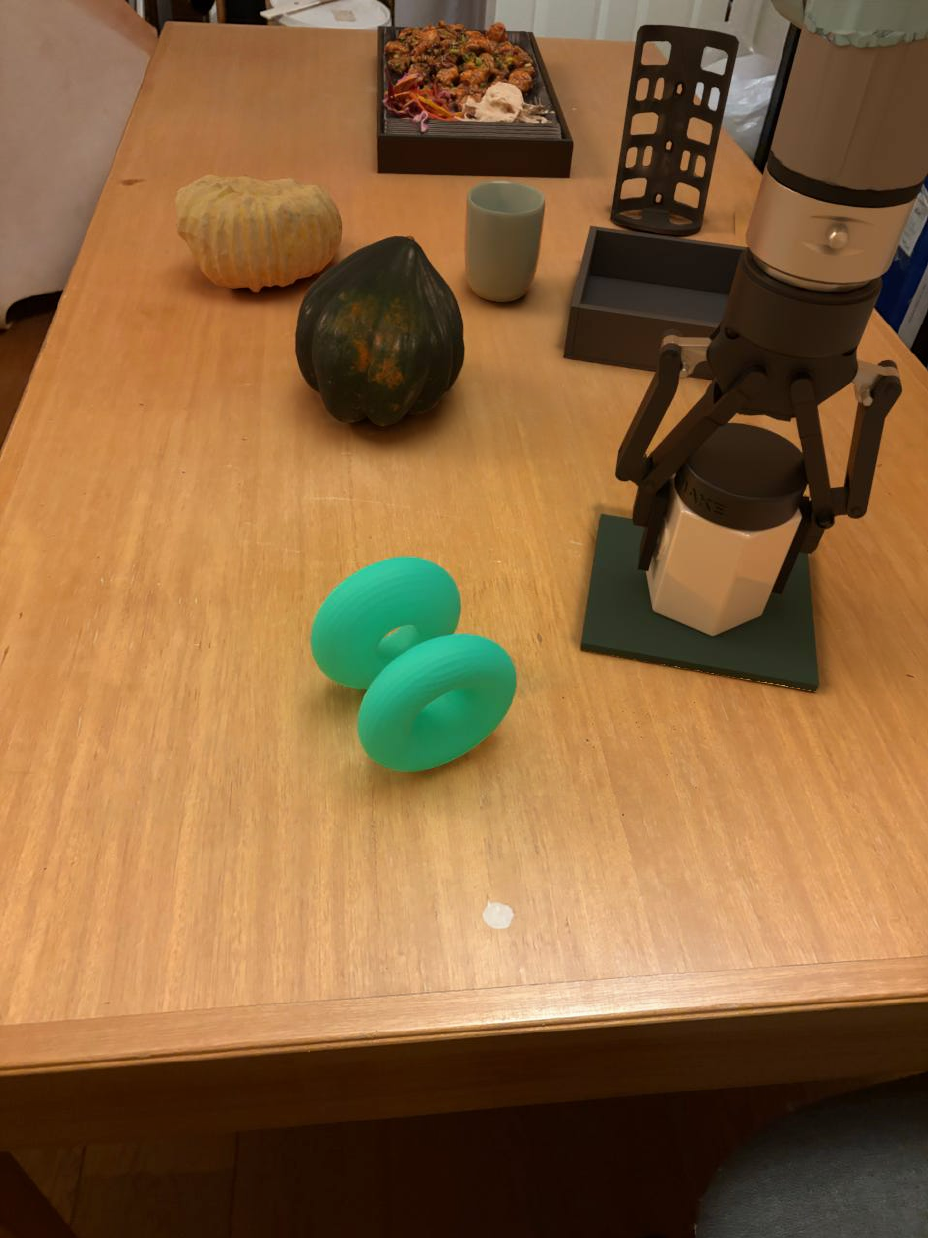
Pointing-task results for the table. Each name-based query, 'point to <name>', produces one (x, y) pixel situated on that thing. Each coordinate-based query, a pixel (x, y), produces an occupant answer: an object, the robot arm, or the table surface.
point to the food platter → (467, 104)
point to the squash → (380, 334)
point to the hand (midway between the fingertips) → (709, 568)
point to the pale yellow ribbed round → (257, 229)
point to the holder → (672, 127)
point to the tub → (646, 296)
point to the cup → (503, 238)
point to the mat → (635, 631)
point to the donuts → (412, 664)
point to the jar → (727, 528)
